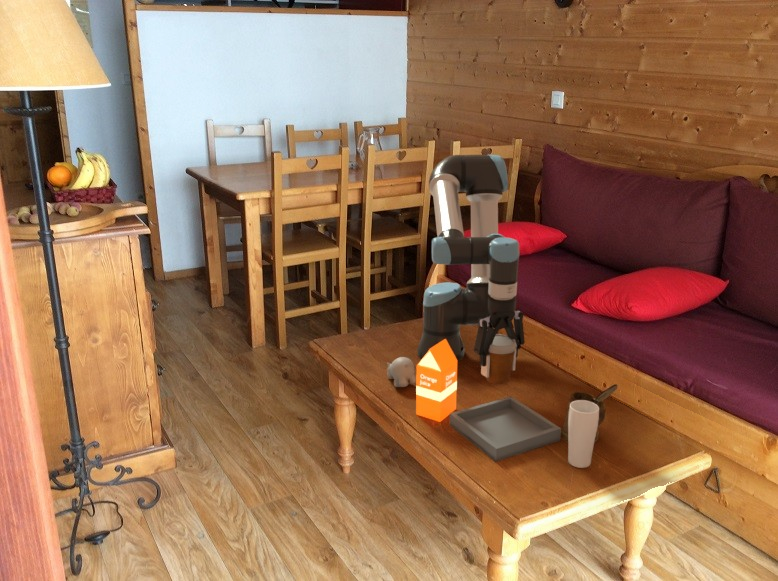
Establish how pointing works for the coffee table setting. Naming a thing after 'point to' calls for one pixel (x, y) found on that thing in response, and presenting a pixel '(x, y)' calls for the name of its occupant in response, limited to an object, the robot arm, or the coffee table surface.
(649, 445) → the coffee table surface
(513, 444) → the tray
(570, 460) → the drinking glass
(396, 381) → the round bodied animal figurine
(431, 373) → the orange juice
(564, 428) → the wooden mug
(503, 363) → the disposable coffee cup
